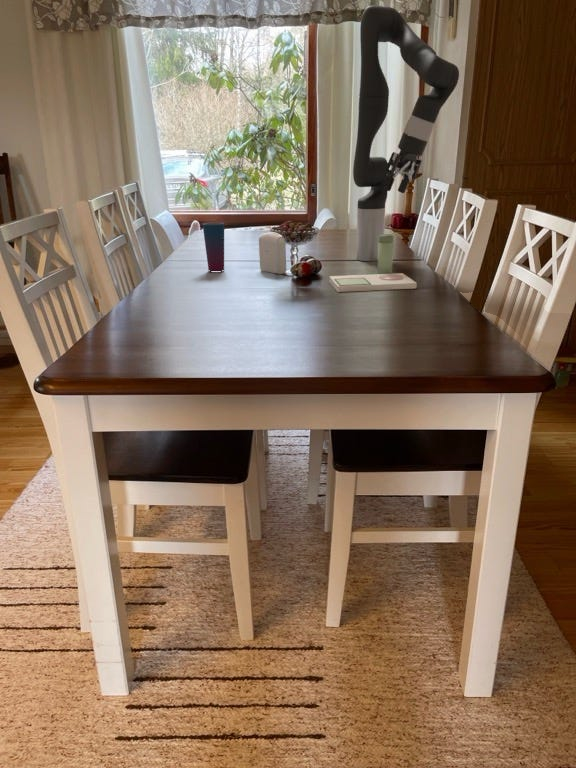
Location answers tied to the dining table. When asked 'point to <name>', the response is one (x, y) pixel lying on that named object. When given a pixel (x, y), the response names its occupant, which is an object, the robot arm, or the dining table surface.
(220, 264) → the cup
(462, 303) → the dining table surface
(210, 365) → the dining table surface
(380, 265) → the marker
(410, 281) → the picture board
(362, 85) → the robot arm
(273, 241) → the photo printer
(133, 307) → the dining table surface
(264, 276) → the dining table surface
